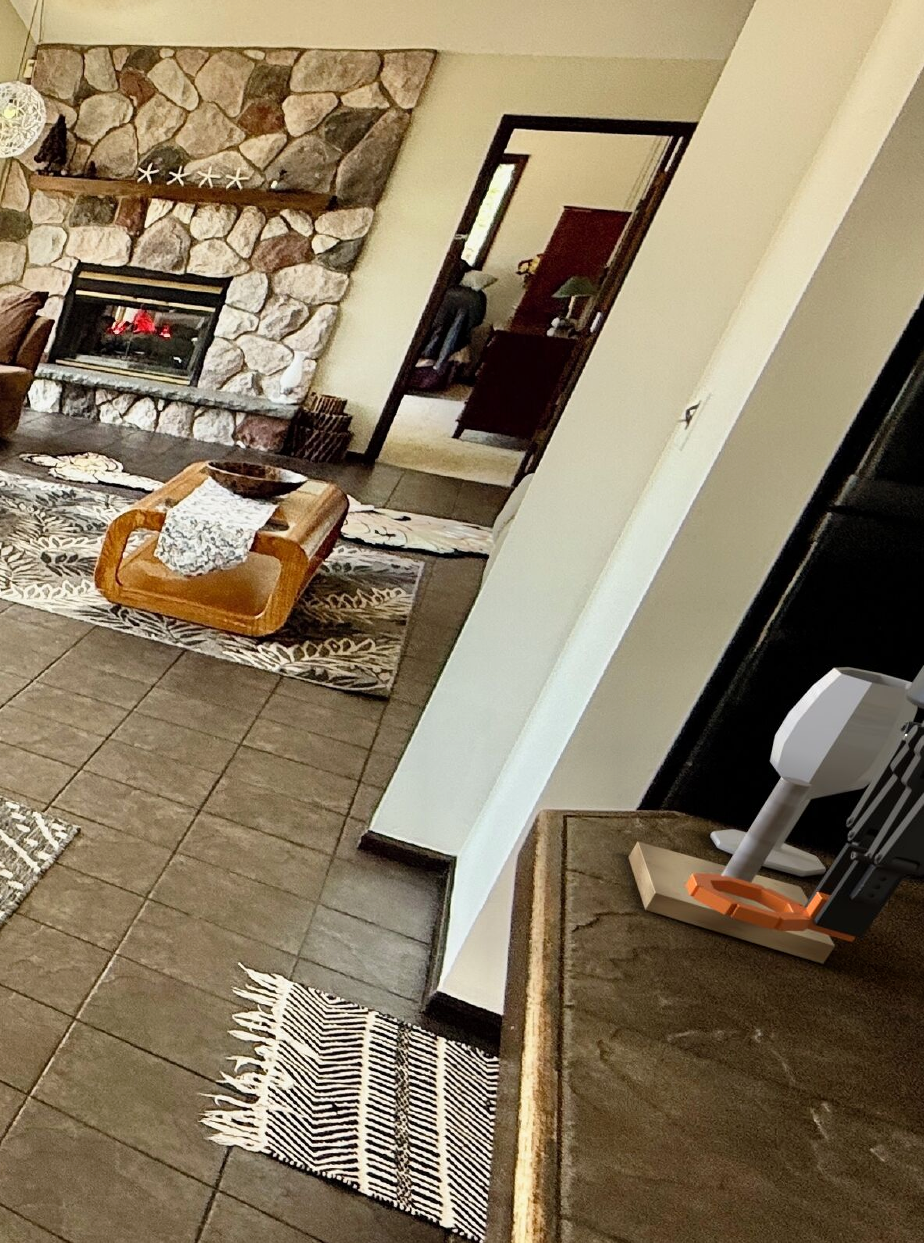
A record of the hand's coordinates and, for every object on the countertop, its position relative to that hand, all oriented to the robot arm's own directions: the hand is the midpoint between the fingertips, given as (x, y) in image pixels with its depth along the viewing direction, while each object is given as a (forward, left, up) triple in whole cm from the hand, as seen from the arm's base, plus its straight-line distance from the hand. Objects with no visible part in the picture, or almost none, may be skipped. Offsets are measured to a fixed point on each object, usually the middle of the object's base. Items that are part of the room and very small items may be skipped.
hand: (832, 921), depth 100 cm
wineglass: (-3, -34, -7) cm, 35 cm away
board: (+3, -14, -7) cm, 16 cm away
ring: (+4, 0, -1) cm, 4 cm away
